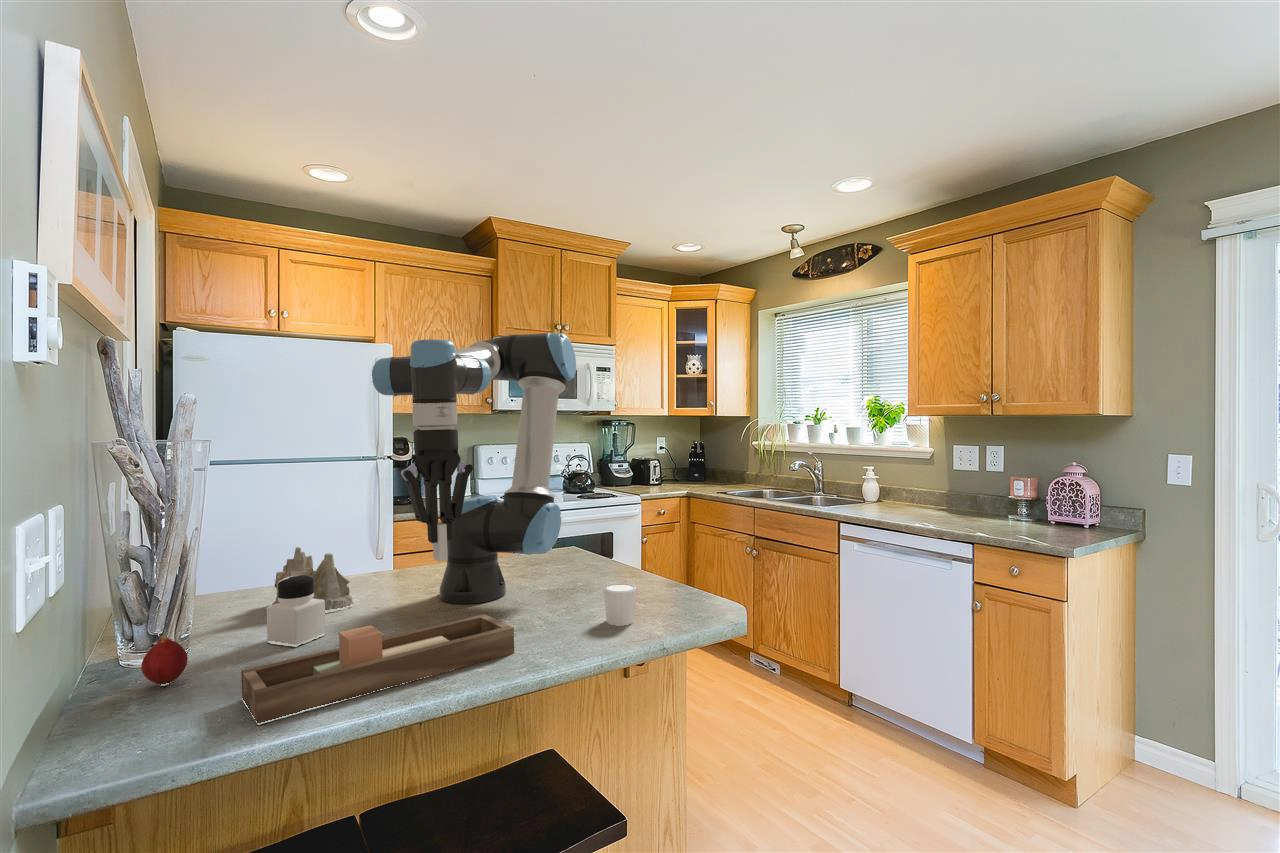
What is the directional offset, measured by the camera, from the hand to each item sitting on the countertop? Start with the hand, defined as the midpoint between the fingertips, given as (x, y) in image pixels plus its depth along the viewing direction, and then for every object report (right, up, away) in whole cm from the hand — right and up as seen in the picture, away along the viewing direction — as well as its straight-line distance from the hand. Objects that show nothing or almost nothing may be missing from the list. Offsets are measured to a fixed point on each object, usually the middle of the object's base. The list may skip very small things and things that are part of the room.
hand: (440, 559), depth 115 cm
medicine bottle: (-30, -17, +8) cm, 35 cm away
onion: (-40, -18, -13) cm, 45 cm away
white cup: (+32, -16, +17) cm, 39 cm away
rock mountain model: (-38, -17, +30) cm, 51 cm away
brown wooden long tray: (-5, -17, -9) cm, 20 cm away
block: (-9, -14, -12) cm, 21 cm away
